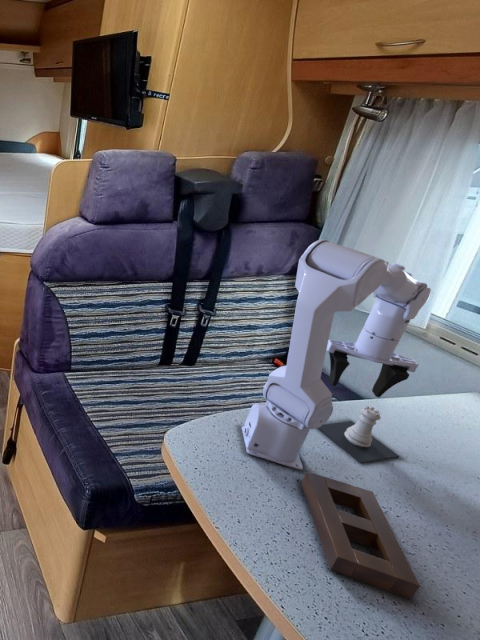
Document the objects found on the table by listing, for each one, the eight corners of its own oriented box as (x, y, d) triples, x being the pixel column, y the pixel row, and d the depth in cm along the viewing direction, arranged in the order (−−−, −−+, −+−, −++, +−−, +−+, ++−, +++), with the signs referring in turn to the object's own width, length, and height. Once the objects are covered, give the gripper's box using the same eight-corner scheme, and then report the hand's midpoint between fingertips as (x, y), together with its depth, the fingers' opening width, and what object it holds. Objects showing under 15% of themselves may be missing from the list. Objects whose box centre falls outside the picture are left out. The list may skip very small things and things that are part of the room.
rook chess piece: (375, 450, 94) (392, 419, 91) (351, 446, 95) (367, 415, 91) (361, 434, 98) (377, 404, 95) (338, 430, 99) (353, 401, 96)
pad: (360, 463, 91) (361, 462, 91) (315, 426, 100) (315, 425, 100) (398, 457, 93) (399, 456, 93) (351, 421, 102) (351, 420, 102)
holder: (330, 569, 70) (337, 556, 69) (300, 482, 85) (306, 470, 84) (411, 599, 67) (420, 586, 66) (365, 503, 82) (372, 491, 81)
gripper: (417, 332, 92) (387, 387, 97) (331, 314, 97) (308, 367, 102) (435, 350, 86) (402, 408, 91) (343, 330, 90) (317, 386, 96)
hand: (353, 388), depth 96 cm, fingers open, 7 cm apart
